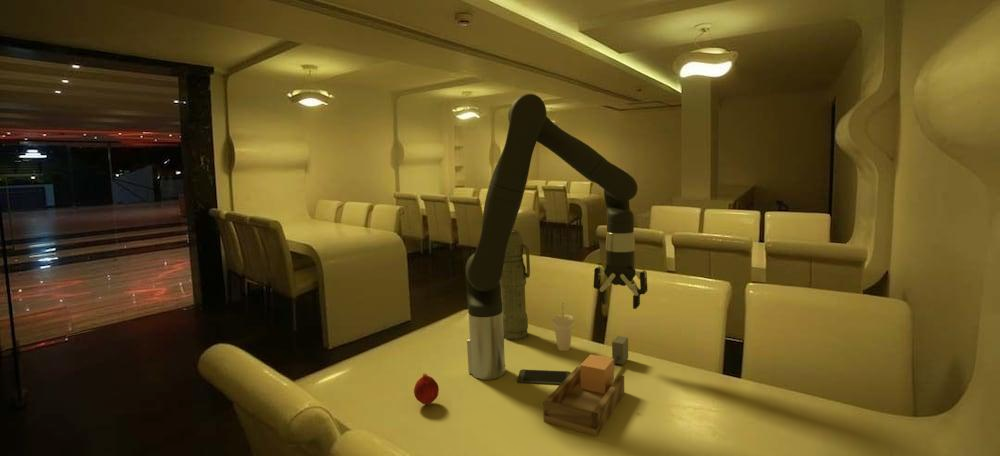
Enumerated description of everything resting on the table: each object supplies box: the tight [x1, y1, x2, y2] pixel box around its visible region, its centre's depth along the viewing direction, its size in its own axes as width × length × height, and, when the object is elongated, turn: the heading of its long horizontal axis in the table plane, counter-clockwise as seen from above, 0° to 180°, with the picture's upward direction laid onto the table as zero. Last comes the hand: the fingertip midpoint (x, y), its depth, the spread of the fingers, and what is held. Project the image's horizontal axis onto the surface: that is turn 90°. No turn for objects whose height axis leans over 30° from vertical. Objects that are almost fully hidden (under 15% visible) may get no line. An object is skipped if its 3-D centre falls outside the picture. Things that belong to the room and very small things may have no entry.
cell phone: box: [516, 368, 572, 386], centre depth 121 cm, size 7×14×1 cm, turn 79°
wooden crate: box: [542, 366, 625, 437], centre depth 105 cm, size 20×12×4 cm, turn 149°
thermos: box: [500, 229, 531, 341], centre depth 150 cm, size 9×12×35 cm
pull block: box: [579, 335, 629, 394], centre depth 119 cm, size 25×6×7 cm, turn 149°
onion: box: [413, 372, 440, 406], centre depth 109 cm, size 6×6×8 cm
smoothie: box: [552, 302, 575, 352], centre depth 139 cm, size 6×6×14 cm
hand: (619, 306), depth 126 cm, fingers open, 8 cm apart
